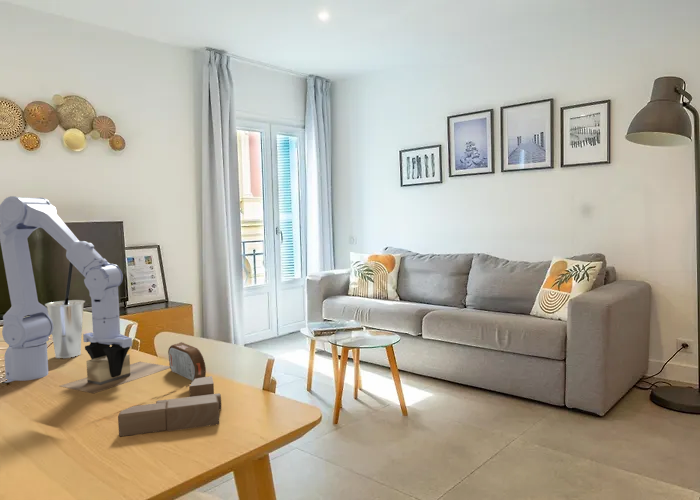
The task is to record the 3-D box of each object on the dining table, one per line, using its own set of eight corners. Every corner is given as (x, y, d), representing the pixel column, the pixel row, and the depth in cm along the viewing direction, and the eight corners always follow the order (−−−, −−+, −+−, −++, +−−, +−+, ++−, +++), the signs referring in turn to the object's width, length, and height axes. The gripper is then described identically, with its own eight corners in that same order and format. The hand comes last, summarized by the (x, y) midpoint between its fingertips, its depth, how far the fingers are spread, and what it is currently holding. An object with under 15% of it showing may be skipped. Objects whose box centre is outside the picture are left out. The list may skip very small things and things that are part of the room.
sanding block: (87, 382, 120) (86, 360, 120) (117, 373, 127) (116, 352, 127) (100, 384, 118) (99, 362, 117) (130, 375, 125) (129, 354, 124)
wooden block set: (223, 396, 97) (117, 409, 91) (224, 426, 97) (118, 441, 91) (217, 371, 113) (126, 380, 107) (218, 396, 113) (128, 408, 107)
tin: (207, 386, 120) (206, 349, 119) (194, 389, 117) (193, 352, 117) (179, 372, 131) (177, 339, 130) (166, 375, 129) (165, 341, 128)
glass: (79, 360, 144) (73, 251, 142) (38, 361, 144) (32, 252, 143) (98, 350, 155) (93, 249, 153) (60, 351, 155) (55, 250, 153)
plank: (59, 391, 118) (58, 385, 118) (140, 366, 137) (139, 361, 137) (93, 398, 112) (93, 393, 112) (173, 371, 131) (172, 366, 131)
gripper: (70, 317, 121) (73, 375, 122) (111, 322, 114) (114, 383, 115) (97, 312, 127) (100, 367, 128) (138, 316, 121) (141, 375, 121)
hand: (108, 374), depth 122 cm, fingers closed on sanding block, 4 cm apart
